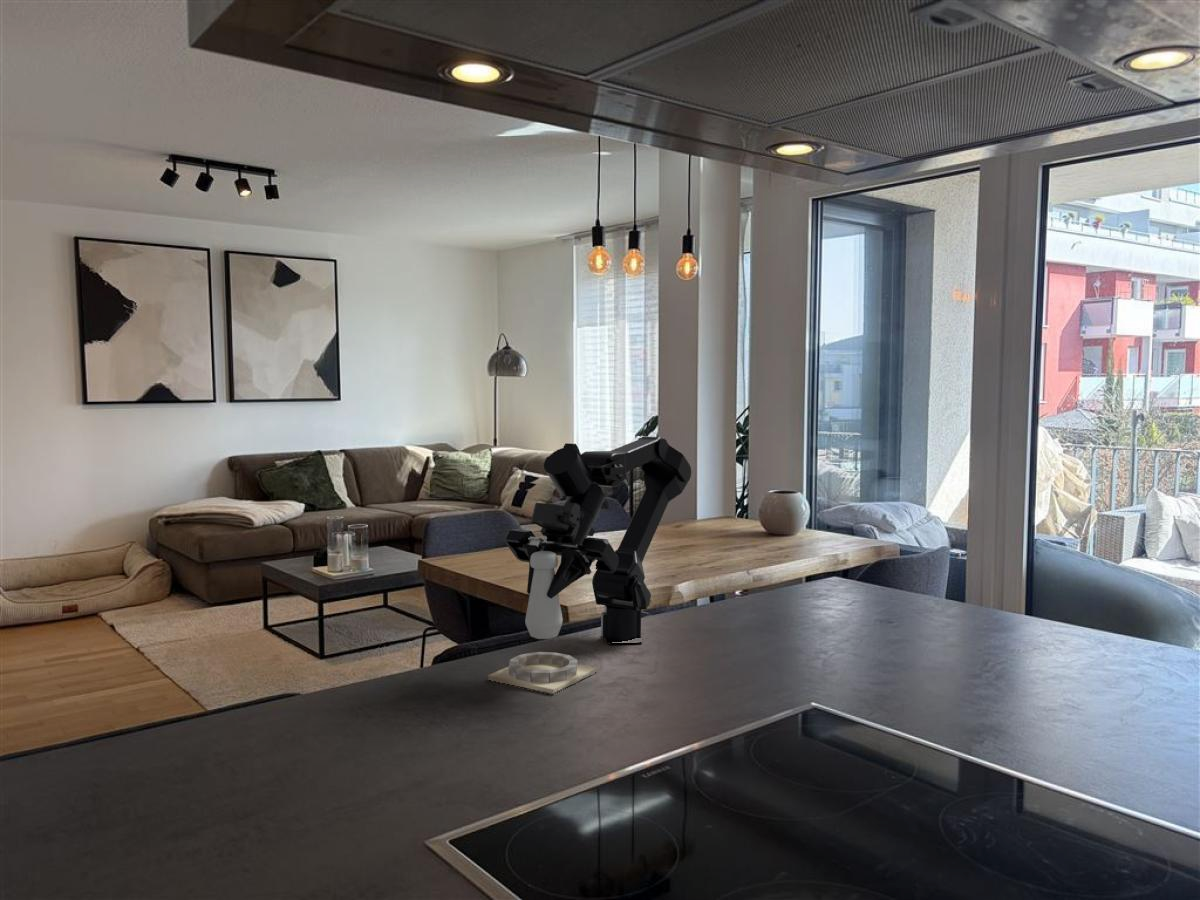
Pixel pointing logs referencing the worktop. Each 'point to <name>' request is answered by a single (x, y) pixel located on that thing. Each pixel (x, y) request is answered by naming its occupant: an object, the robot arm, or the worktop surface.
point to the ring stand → (541, 671)
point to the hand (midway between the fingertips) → (538, 595)
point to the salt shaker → (543, 598)
